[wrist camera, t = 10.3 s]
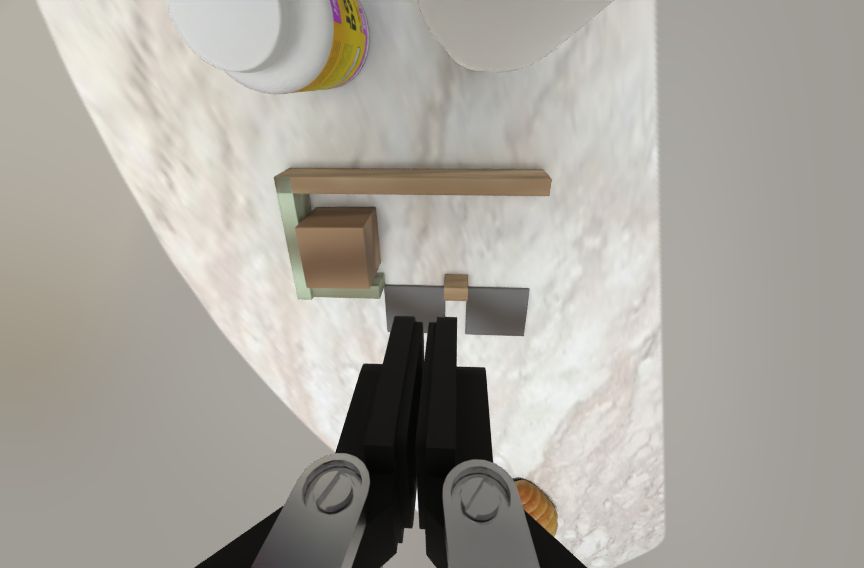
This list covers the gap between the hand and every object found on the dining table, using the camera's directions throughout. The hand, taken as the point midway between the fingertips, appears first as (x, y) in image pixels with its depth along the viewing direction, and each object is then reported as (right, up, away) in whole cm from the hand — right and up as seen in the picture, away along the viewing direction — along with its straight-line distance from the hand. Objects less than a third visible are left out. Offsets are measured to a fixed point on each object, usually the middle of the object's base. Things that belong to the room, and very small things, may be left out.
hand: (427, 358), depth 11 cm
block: (-7, +6, +23) cm, 25 cm away
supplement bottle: (-7, +19, +16) cm, 26 cm away
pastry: (+12, -26, +39) cm, 48 cm away
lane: (-1, +4, +24) cm, 24 cm away
